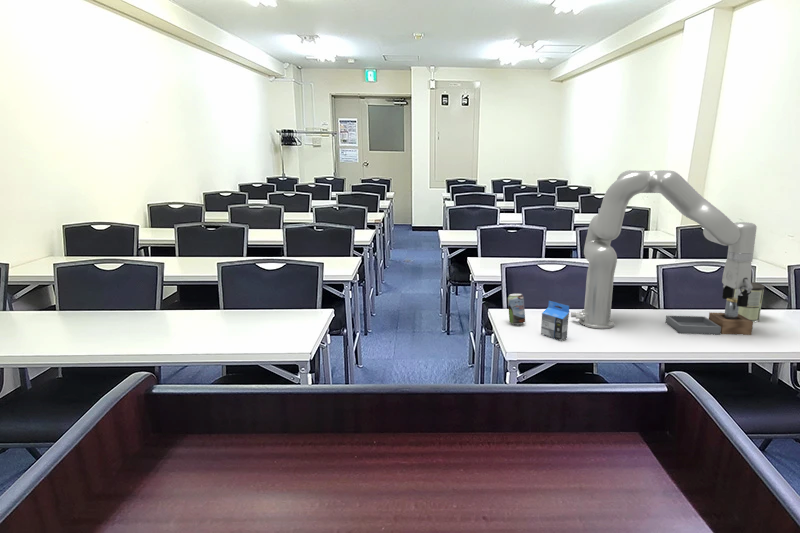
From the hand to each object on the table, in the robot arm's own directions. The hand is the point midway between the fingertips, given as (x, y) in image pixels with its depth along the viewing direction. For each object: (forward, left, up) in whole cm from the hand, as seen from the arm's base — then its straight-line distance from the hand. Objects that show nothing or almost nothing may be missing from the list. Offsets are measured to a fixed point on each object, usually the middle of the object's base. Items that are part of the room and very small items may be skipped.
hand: (734, 302), depth 175 cm
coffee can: (+13, +15, -11) cm, 22 cm away
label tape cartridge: (-66, -14, -11) cm, 69 cm away
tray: (-13, 0, -11) cm, 17 cm away
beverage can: (-78, -1, -11) cm, 79 cm away
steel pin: (0, 0, -11) cm, 11 cm away
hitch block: (0, 0, -11) cm, 11 cm away
